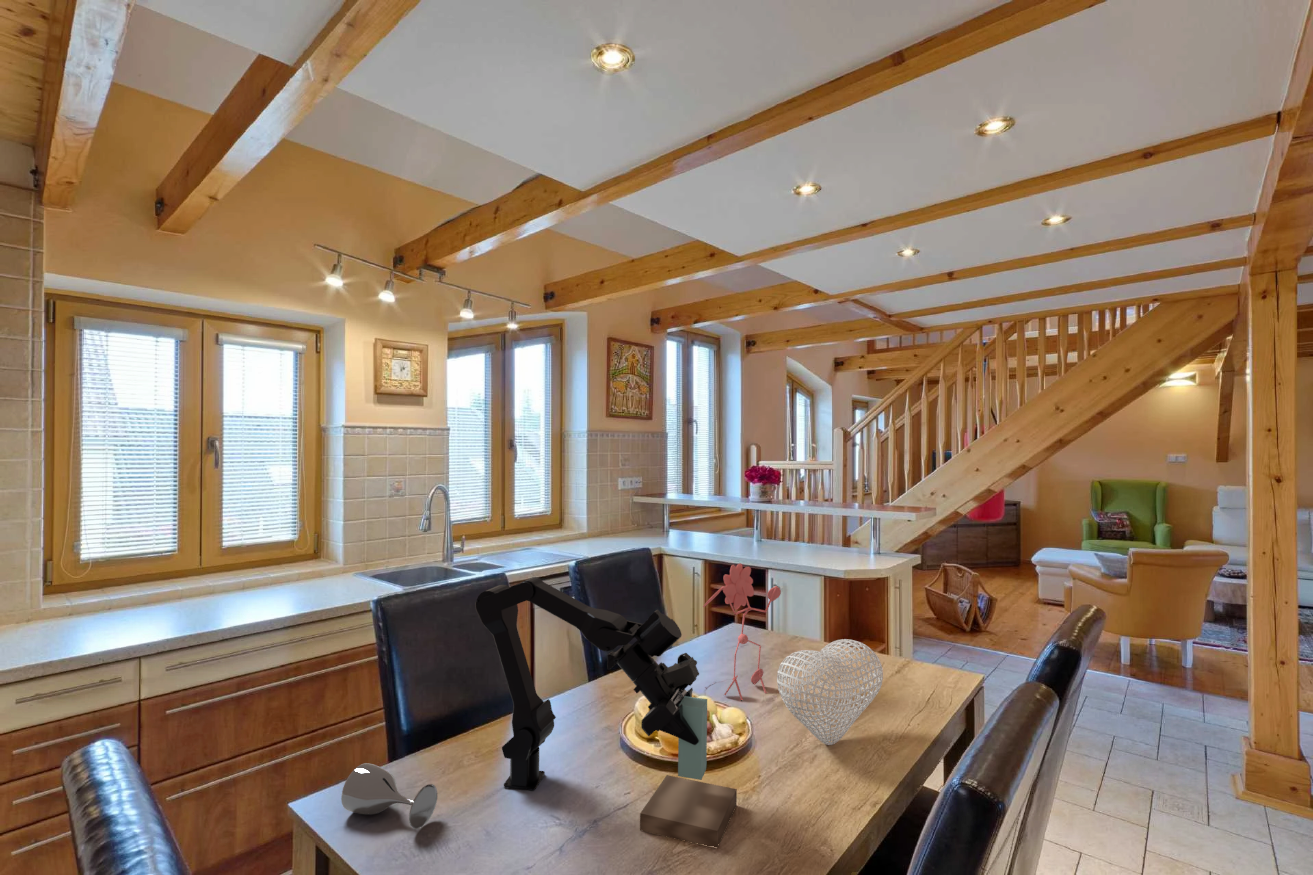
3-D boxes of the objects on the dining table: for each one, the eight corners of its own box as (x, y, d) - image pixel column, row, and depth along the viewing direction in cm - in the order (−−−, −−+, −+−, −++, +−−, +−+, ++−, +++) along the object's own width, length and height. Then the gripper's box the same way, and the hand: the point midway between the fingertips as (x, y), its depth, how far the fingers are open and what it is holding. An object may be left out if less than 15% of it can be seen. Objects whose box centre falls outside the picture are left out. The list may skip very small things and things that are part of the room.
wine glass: (435, 771, 115) (370, 753, 121) (403, 806, 108) (337, 785, 114) (442, 806, 118) (378, 787, 123) (411, 843, 110) (346, 821, 116)
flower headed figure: (789, 687, 180) (787, 562, 181) (722, 710, 164) (720, 572, 165) (749, 672, 192) (748, 555, 193) (683, 692, 176) (682, 564, 177)
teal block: (678, 776, 118) (678, 705, 118) (683, 764, 122) (684, 696, 122) (701, 780, 116) (702, 708, 116) (706, 768, 121) (707, 699, 121)
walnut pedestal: (639, 830, 112) (640, 813, 112) (666, 790, 126) (666, 775, 126) (717, 848, 108) (717, 831, 108) (736, 805, 121) (736, 789, 121)
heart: (840, 717, 160) (840, 628, 161) (895, 740, 148) (896, 644, 148) (762, 748, 144) (763, 648, 144) (817, 777, 131) (818, 668, 131)
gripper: (659, 660, 111) (721, 732, 108) (685, 630, 129) (738, 692, 126) (616, 700, 114) (675, 772, 110) (647, 665, 131) (699, 726, 128)
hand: (699, 737), depth 119 cm, fingers closed on teal block, 4 cm apart
